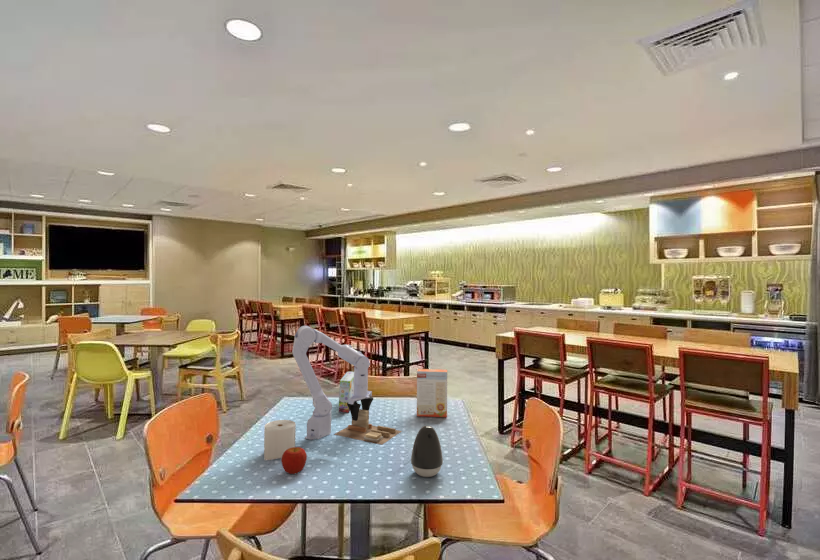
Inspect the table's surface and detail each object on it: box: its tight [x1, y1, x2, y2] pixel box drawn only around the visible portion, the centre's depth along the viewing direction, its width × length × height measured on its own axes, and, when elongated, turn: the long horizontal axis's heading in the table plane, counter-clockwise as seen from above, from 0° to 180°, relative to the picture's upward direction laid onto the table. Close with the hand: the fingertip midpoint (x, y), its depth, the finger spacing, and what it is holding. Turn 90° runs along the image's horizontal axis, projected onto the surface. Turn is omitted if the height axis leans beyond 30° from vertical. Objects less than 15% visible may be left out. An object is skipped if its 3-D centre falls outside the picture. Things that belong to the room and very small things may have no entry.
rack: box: [333, 423, 403, 446], centre depth 165 cm, size 16×22×3 cm
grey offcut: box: [364, 436, 383, 443], centre depth 159 cm, size 4×6×1 cm, turn 64°
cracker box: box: [416, 368, 448, 418], centre depth 192 cm, size 14×6×21 cm, turn 84°
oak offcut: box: [365, 432, 382, 439], centre depth 159 cm, size 4×5×1 cm
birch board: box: [351, 408, 370, 430], centre depth 170 cm, size 2×7×8 cm, turn 64°
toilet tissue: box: [263, 419, 297, 461], centre depth 147 cm, size 11×12×10 cm
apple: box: [280, 446, 308, 475], centre depth 133 cm, size 8×8×8 cm
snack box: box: [338, 371, 354, 414], centre depth 205 cm, size 21×6×15 cm, turn 179°
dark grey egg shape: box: [410, 425, 444, 478], centre depth 133 cm, size 10×10×15 cm
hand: (360, 417), depth 170 cm, fingers open, 7 cm apart
